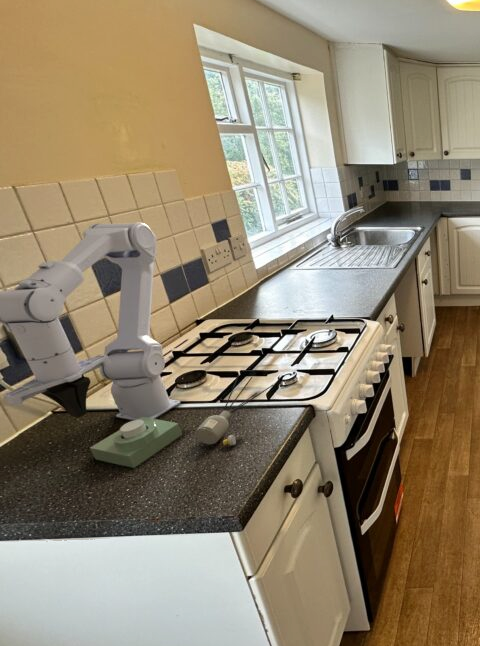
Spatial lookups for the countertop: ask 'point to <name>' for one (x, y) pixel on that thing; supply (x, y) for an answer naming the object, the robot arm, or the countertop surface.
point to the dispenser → (137, 443)
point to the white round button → (133, 429)
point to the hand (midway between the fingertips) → (79, 414)
